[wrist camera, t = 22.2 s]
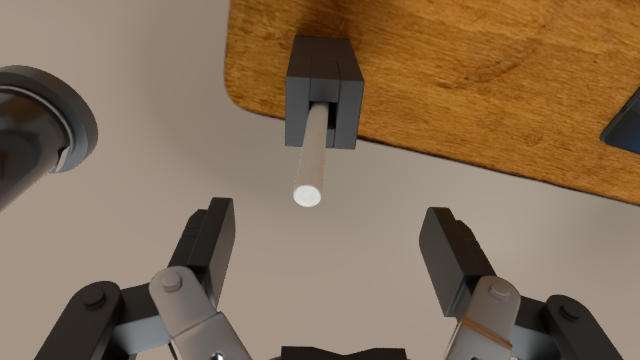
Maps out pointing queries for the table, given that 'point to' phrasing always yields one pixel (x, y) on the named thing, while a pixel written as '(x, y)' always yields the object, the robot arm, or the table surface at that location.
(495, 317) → the robot arm
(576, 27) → the table surface
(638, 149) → the smartphone
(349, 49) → the pen stand
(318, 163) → the stylus
